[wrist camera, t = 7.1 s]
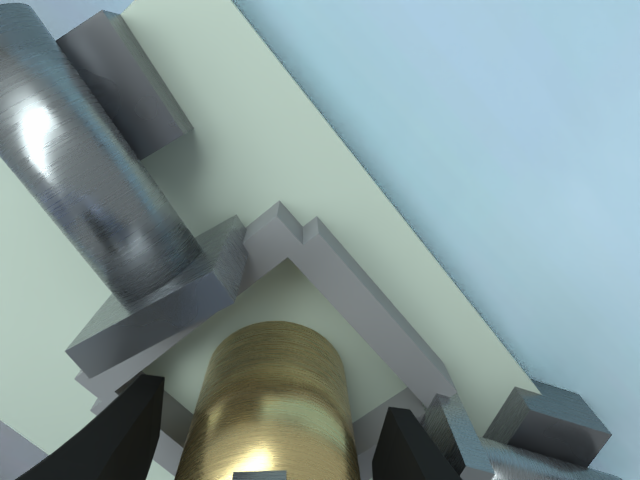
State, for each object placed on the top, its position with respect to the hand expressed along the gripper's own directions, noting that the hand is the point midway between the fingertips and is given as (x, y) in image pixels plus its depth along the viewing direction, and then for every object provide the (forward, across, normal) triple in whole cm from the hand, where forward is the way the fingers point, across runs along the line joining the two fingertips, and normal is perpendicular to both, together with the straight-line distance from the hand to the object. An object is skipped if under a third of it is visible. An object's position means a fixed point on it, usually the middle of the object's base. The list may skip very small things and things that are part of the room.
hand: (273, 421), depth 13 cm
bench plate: (+3, +1, +1) cm, 3 cm away
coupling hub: (+2, 0, 0) cm, 2 cm away
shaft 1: (+3, +5, -6) cm, 8 cm away
